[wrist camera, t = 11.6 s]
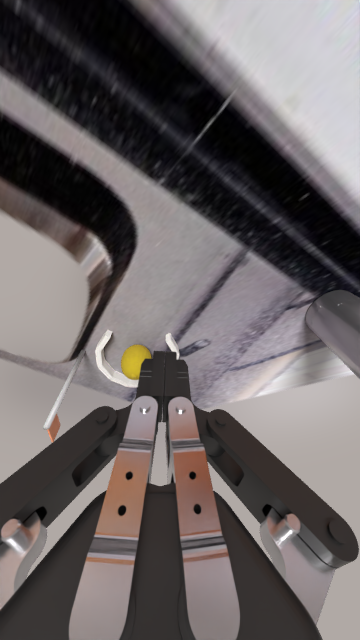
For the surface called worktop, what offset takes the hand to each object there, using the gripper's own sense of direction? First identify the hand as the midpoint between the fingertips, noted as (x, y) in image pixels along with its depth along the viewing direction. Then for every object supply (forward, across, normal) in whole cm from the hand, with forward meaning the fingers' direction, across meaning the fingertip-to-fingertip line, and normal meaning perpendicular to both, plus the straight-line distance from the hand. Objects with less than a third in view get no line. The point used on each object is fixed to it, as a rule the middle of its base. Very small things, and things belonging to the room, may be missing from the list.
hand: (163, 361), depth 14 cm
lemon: (+23, +5, +18) cm, 30 cm away
